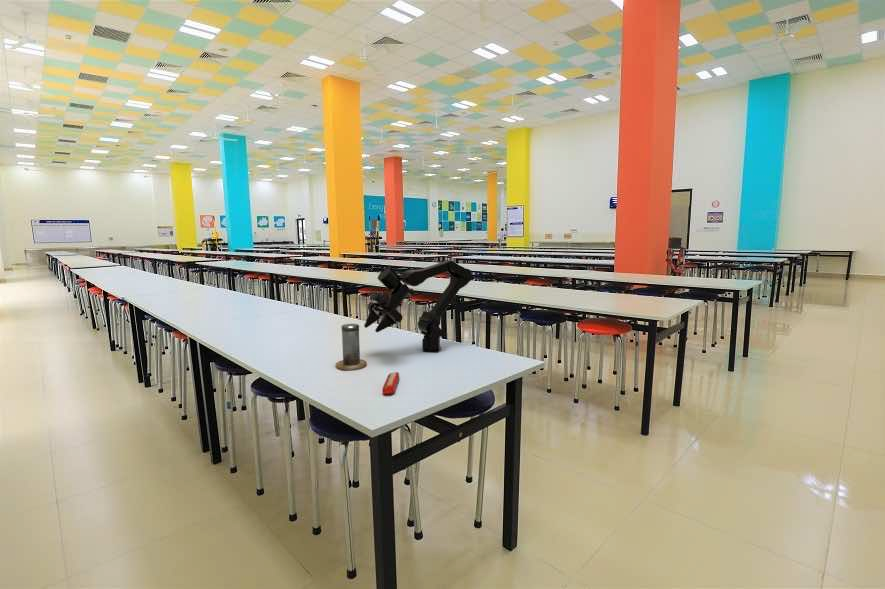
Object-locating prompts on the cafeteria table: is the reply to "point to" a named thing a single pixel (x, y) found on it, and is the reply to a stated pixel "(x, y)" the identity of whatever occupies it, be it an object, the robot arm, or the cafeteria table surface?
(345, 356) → the tumbler
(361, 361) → the coaster
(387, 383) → the red rounded bar
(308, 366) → the cafeteria table surface
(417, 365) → the cafeteria table surface
